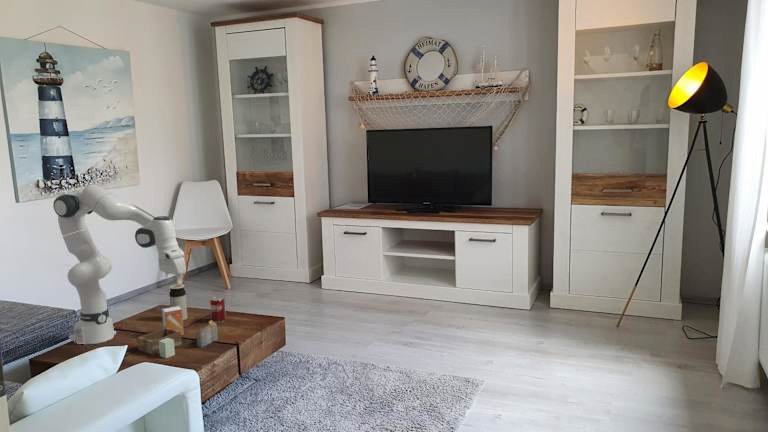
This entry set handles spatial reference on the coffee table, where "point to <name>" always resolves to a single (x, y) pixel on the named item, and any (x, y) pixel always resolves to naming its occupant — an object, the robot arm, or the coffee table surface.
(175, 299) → the travel mug
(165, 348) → the sage block
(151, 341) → the crate
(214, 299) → the soda can
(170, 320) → the small box
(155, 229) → the robot arm
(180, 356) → the coffee table surface
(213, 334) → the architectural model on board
